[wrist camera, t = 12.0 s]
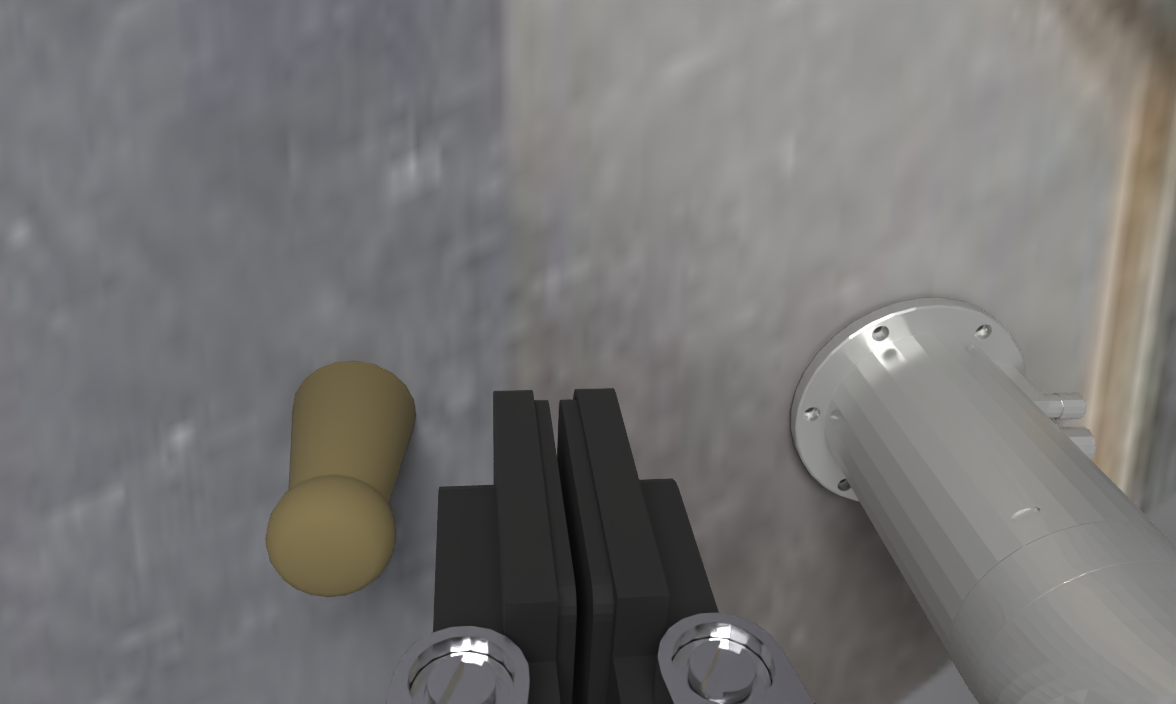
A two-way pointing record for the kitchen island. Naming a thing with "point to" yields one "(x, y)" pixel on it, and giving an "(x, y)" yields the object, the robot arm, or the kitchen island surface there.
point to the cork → (341, 479)
